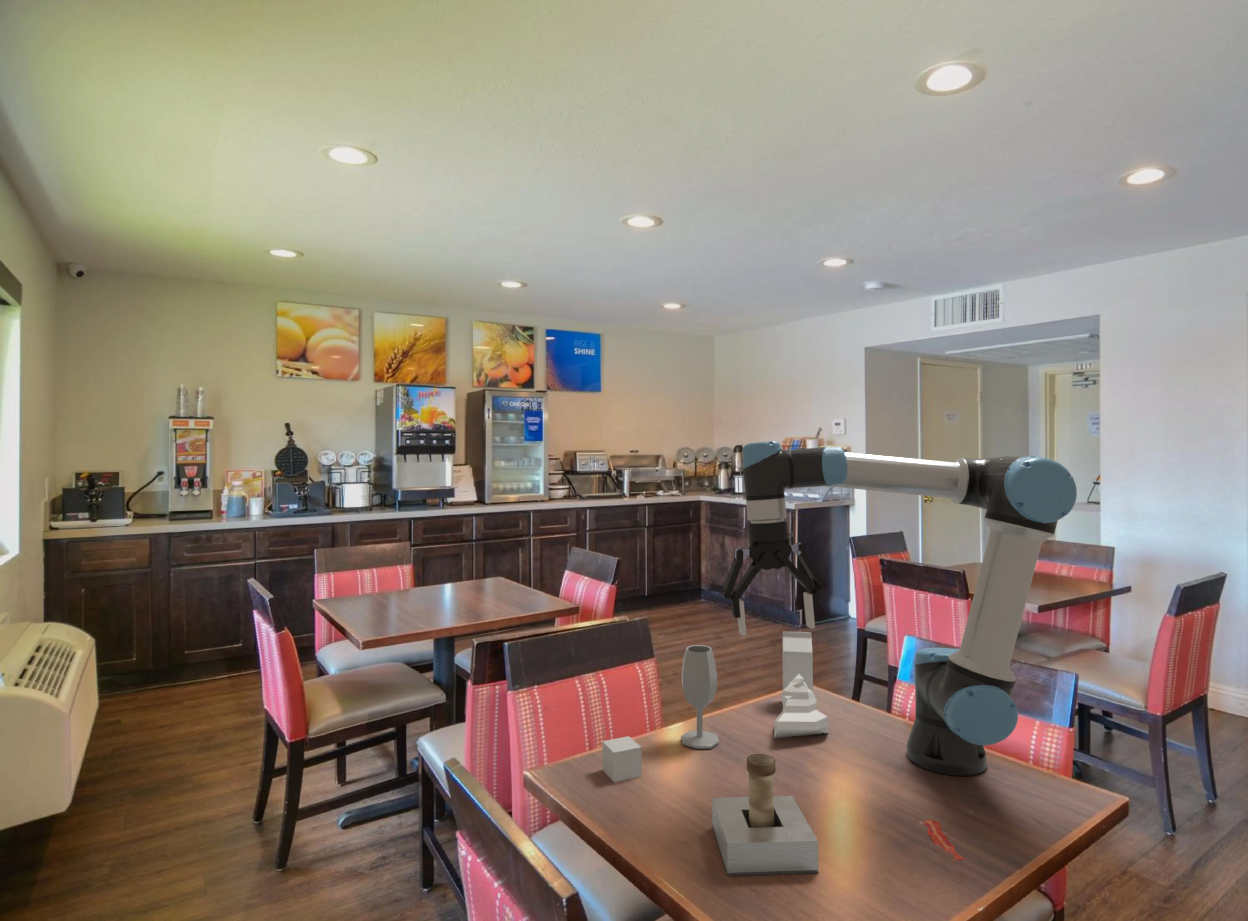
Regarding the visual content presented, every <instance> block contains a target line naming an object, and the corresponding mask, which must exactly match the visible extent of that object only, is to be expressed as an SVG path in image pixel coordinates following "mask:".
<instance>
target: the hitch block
mask: <svg viewBox="0 0 1248 921" xmlns="http://www.w3.org/2000/svg"><path fill="white" fill-rule="evenodd" d="M711 800H712V802H711V812H712V814H711V815H712V817H711V818H712V819H711V820H712V822H711V823H712V824H711V827H712V830H713V833H714V837H715V839H716V843H717V846H718V849H719V852H720V857H721V859H722V862H723V865H724V869H725V872H726V874H727V877H738V876H740V877H741V876H742V877H743V876H773V875H774V876H775V875H799V874H800V875H802V874H803V875H804V874H808V875H809V874H819V841H818V839H817V837H816V835H815V833H814V832H813V829H812V828H811V826H810V824H809V823H808V821H807V819H806V817H805V816H804V813H803V812H802V810H801V808H800V807H799V805H798V803H797V802H796V800H795V798H794V796H793V795H774V827H760V828H749V796H731V797H730V796H728V797H727V796H726V797H712V798H711Z"/></svg>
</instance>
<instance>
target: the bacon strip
mask: <svg viewBox="0 0 1248 921" xmlns="http://www.w3.org/2000/svg"><path fill="white" fill-rule="evenodd" d="M922 813H925V812H922ZM922 823H923V825H925V826H926V827H927V829H928V830H929V831H926V833H927V832H928V833H927V835H928V836H929V837H930V840H931V841H932V843H933V842H934V843H933V844H934V846H935V845H939V846H940V847H942V848H943V849H942V848H941V849H942V850H944V851H945V852H946V853H947V854H948V855H950V854H951V855H953V858H954V859H953V858H951V861H954V862H955V861H961V860H966V858H965V857H964V856H961V855H960V854H958V852H956V851H955V850H956V848H955V846H954V845H953V844H952V843H951V842H950V840H949V839H948V838H947V837H948V836H947V835H946V834H944V831H943V830H942V827H941V826H942V825H941V823H940V822H939V821H938V820H934V819H932V818H931V819H926V820H925V821H922ZM933 830H934V831H933ZM939 846H938V847H939ZM940 847H939V848H940Z"/></svg>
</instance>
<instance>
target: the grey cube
mask: <svg viewBox="0 0 1248 921" xmlns="http://www.w3.org/2000/svg"><path fill="white" fill-rule="evenodd" d="M602 771H603V772H604V773H605V774H606V776H608V778H609V779H611V781H612V782H613V783H618V782H623V781H628V780H633V779H636V778H637V779H638V778H640V777H642V746H641V745H640V744H639V743H637V742H636V741H635V740H634V739H633V738H632V737H630V736H628V735H627V736H623V737H617V738H613V739H607V740H603V741H602Z"/></svg>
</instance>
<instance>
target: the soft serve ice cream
mask: <svg viewBox="0 0 1248 921" xmlns="http://www.w3.org/2000/svg"><path fill="white" fill-rule="evenodd" d="M780 696H781V702H782V711H781V713H779V715H778V716H777V718H776V719H775V721H774V732H773V733H774V734H773V739H780V738H782V739H783V738H790V737H791V738H792V736H794V737H801V736H803V735H804V736H812V735H813V734H814V735H823V734H822V733H824V734H828V733H829V721H828V720H829V719H828V716H827V715H825V714H824V713H823V712H820V710H817V705H818V704H817V703H818V699H817V697H816V696H815V692H814V691H813V692H812V691H811V690H810V689H808V687H807V685H806V683H805V682H804V678H803V677H802V676H801V675H800V674H798V675H797V676H796V677H795V678H794V679H793V680H792V681H791V682H790V684H789V685H788V686H787V687H786V688H785V689H784V690H783V689H782V692H781V694H780Z"/></svg>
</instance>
